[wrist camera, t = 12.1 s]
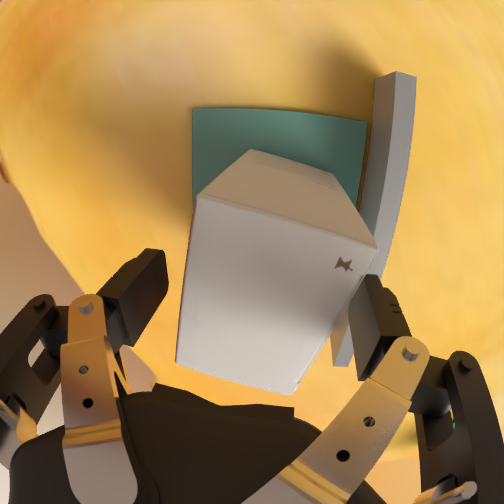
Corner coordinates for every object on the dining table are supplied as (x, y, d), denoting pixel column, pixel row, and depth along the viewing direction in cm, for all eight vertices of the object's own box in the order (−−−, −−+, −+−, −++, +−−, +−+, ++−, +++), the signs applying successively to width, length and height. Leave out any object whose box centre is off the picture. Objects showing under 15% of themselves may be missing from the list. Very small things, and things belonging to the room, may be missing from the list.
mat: (194, 108, 16) (192, 108, 16) (365, 122, 15) (367, 122, 15) (198, 288, 23) (197, 291, 22) (332, 304, 21) (333, 307, 21)
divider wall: (374, 79, 14) (395, 71, 10) (391, 84, 13) (416, 77, 10) (329, 331, 23) (333, 366, 19) (342, 332, 23) (347, 366, 19)
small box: (250, 146, 16) (193, 186, 7) (335, 173, 16) (386, 246, 7) (223, 254, 20) (170, 365, 11) (296, 276, 20) (292, 399, 11)
